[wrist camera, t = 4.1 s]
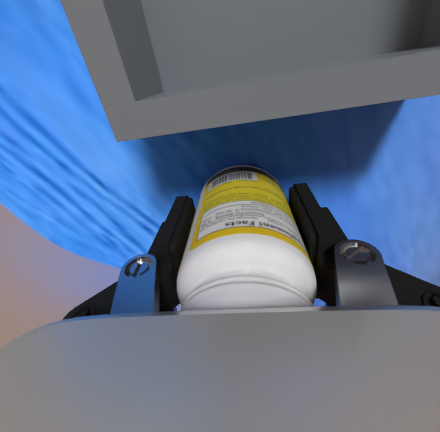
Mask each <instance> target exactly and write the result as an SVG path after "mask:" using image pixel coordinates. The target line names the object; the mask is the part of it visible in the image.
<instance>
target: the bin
mask: <svg viewBox="0 0 440 432" xmlns="http://www.w3.org/2000/svg"><path fill="white" fill-rule="evenodd" d="M60 1H61V3H62V6H63V8H64V11H65V13H66V16H67V18H68V21H69V23H70V26H71V28H72V31H73V33H74V36H75V38H76V41H77V43H78V46H79V48H80V51H81V53H82V56H83V58H84V61H85V63H86V66H87V68H88V71H89V73H90V76H91V78H92V81H93V83H94V86H95V88H96V91H97V93H98V96H99V98H100V101H101V103H102V106H103V108H104V111H105V113H106V116H107V118H108V121H109V123H110V126H111V128H112V131H113V133H114V136H115V138H116V141H117V142H120V141H127V140H133V139H140V138H147V137H154V136H161V135H167V134H174V133H181V132H188V131H195V130H201V129H208V128H215V127H222V126H229V125H236V124H242V123H249V122H256V121H263V120H270V119H276V118H283V117H290V116H297V115H304V114H310V113H317V112H324V111H331V110H338V109H344V108H351V107H358V106H365V105H372V104H379V103H385V102H392V101H399V100H406V99H413V98H419V97H426V96H433V95H440V0H60Z"/></svg>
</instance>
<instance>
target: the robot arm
mask: <svg viewBox="0 0 440 432" xmlns="http://www.w3.org/2000/svg"><path fill="white" fill-rule="evenodd" d="M289 207H290V209H291V212H292V215H293V217H294V220H295V222H296V225H297V227H298V230H299V233H300V235H301V238H302V240H303V243H304V246H305V248H306V251H307V253H308V256H309V258H310V261H311V264H312V266H313V269H314V272H315V276H316V281H317V293H316V298H319V299H321V300H322V301H324V302H325V306H322V307H285V308H253V309H222V310H193V311H177V308H176V306H177V305H178V304H180V301H179V298H178V294H177V276H178V272H179V268H180V264H181V261H182V258H183V254H184V251H185V248H186V244H187V241H188V237H189V233H190V230H191V226H192V223H193V219H194V215H195V211H196V210H195V206H194V202H193V199H192V198H189V197H188V196H178V197H176V199H175V201H174V204H173V206H172V208H171V210H170V212H169V214H168V216H167V219H166V221H165V222H163V223H162V224H161V226H160V229H159V231H158V233H157V235H156V237H155V239H154V241H153V243H152V245H151V247H150V249H149V252H148V254H141V255H138V256H135V257H133V258H131V259H130V260H128V261H127V262H126V263H125V264H124V265H123V267H122V269H121V271H120V275H119V279H118V281H117V282H115V283H114V284H112V285H110V286H109V287H107V288H106V289H104V290H103V291H101V292H99V293H98V294H96V295H94V296H93V297H91V298H90V299H88V300H86V301H85V302H83V303H82V304H80V305H78V306H77V307H75V308H74V309H73V310H71V311H70V312H69V313H68V314H67V315H66V316H65V317H64V319H63V320H61V321H57V322H53V323H50V324H46V325H44V326H41V327H39V328H36V329H33V330H31V331H28V332H26V333H24V334H22V335H20V336H18V337H17V338H15V339H13V340H11V341H10V342H8V343H7V344H6V345H4V346H3V347H2V348H1V349H0V432H440V287H438V286H436V285H433V284H431V283H428V282H426V281H424V280H421V279H419V278H416V277H414V276H411V275H409V274H407V273H404V272H402V271H399V270H397V269H395V268H392V267H390V266H387V265H385V264H384V261H383V258H382V255H381V253H380V252H379V250H378V249H376V248H375V247H374V246H372V245H371V244H369V243H366V242H364V241H360V240H348V239H347V237H346V236H345V234H344V232H343V231H342V229H341V228H340V226H339V225H338V223H337V222H336V220H335V218H334V217H333V215H332V214H331V212H330V211H329V209H328V208H327V207H323V208H321V207H320V206H319V204H318V202H317V200H316V199H315V197H314V195H313V194H312V192H311V190H310V189H309V187H308V185H307V184H306V183H301V184H294V185H293V187H291V188H289Z"/></svg>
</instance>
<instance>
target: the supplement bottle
mask: <svg viewBox="0 0 440 432" xmlns="http://www.w3.org/2000/svg"><path fill="white" fill-rule="evenodd" d="M316 293H317V281H316V276H315V272H314V269H313V266H312V264H311V261H310V258H309V256H308V253H307V251H306V248H305V246H304V243H303V240H302V238H301V235H300V233H299V230H298V227H297V225H296V222H295V220H294V217H293V215H292V212H291V209H290V207H289V204H288V202H287V199H286V197H285V194H284V192H283V190H282V188H281V186H280V184H279V182H278V181H277V180H276V179H275V178H274V177H273V176H272V175H271V174H270V173H268V172H267V171H265V170H263V169H260V168H258V167H254V166H250V165H235V166H230V167H227V168H224V169H222V170H220V171H218V172H217V173H215V174H214V175H213V176H212V177H211V178H210V179H209V180H208V181H207V182H206V184H205V185H204V187H203V189H202V191H201V194H200V197H199V200H198V204H197V208H196V211H195V215H194V219H193V223H192V226H191V230H190V233H189V237H188V241H187V244H186V248H185V251H184V254H183V258H182V261H181V264H180V268H179V272H178V276H177V294H178V298H179V301H180V303H181V305H182V307H181V311H193V310H222V309H253V308H285V307H313V304H314V301H315V298H316Z"/></svg>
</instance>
